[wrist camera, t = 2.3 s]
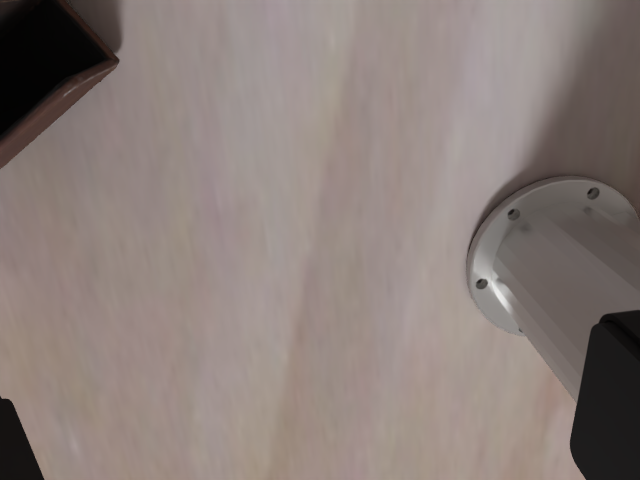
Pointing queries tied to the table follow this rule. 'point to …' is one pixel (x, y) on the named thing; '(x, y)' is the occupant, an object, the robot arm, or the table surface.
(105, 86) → the table surface
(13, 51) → the letter holder
